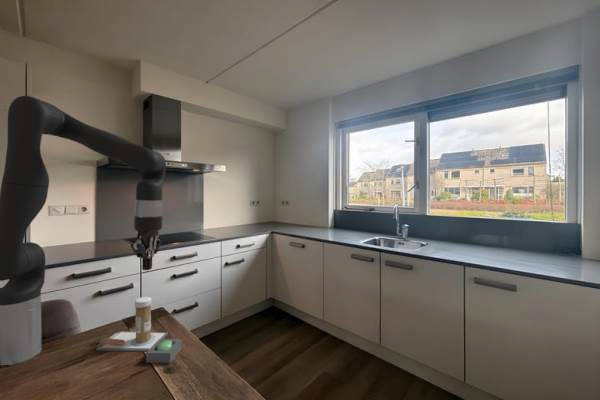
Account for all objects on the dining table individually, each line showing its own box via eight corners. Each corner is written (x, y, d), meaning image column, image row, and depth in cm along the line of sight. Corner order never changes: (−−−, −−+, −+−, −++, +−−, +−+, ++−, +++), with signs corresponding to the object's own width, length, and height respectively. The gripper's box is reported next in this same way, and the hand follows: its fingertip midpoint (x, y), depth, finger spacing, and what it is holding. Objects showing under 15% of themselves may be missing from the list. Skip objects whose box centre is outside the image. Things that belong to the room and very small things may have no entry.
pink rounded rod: (100, 344, 81) (101, 339, 81) (104, 341, 82) (105, 336, 82) (122, 346, 81) (122, 341, 80) (125, 343, 82) (126, 338, 82)
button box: (146, 362, 74) (146, 352, 74) (159, 348, 81) (159, 338, 81) (170, 363, 74) (170, 353, 74) (181, 348, 81) (181, 339, 81)
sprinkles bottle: (151, 340, 84) (151, 300, 83) (135, 345, 81) (135, 303, 81) (150, 334, 88) (150, 295, 87) (134, 338, 85) (134, 298, 85)
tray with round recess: (96, 350, 79) (96, 347, 79) (119, 332, 89) (119, 329, 89) (151, 352, 79) (151, 348, 79) (168, 334, 89) (168, 330, 89)
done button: (154, 358, 76) (154, 348, 76) (161, 349, 80) (161, 340, 80) (167, 358, 76) (167, 348, 76) (174, 350, 80) (174, 340, 80)
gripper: (149, 212, 87) (148, 263, 88) (121, 215, 74) (120, 275, 74) (171, 213, 87) (169, 264, 87) (147, 217, 74) (145, 277, 74)
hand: (147, 269), depth 81 cm, fingers closed
